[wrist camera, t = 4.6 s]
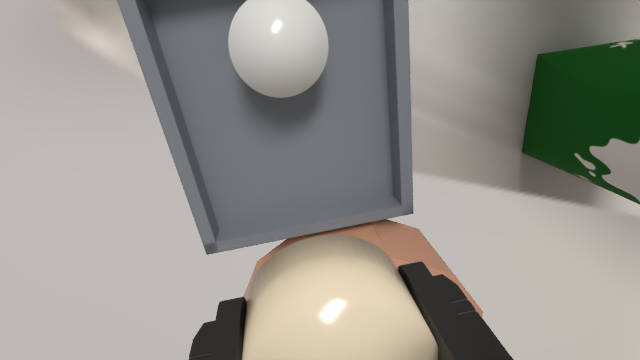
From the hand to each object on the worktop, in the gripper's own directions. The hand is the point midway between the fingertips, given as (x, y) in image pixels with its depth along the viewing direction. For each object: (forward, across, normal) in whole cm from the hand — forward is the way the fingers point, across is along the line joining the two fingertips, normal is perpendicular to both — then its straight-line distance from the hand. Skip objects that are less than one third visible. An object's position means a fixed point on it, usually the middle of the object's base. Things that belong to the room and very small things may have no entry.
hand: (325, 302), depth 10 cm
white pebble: (+13, 0, -7) cm, 15 cm away
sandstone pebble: (0, 0, 0) cm, 0 cm away
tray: (+14, 0, -3) cm, 14 cm away
